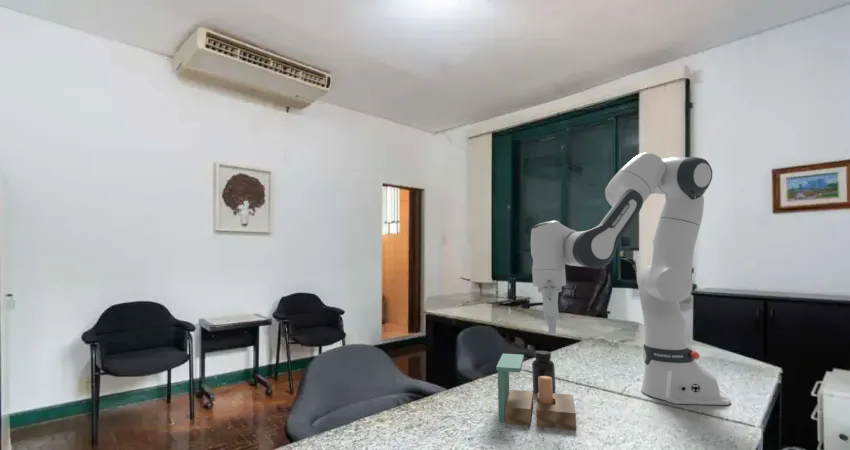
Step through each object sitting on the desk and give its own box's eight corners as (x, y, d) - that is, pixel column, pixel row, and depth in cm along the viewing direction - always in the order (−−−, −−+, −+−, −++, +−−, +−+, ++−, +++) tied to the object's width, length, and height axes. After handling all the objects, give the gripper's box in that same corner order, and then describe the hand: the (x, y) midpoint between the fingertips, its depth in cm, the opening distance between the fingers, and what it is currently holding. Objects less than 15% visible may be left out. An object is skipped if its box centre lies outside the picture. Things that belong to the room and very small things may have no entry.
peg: (553, 414, 114) (552, 376, 114) (553, 419, 110) (552, 380, 111) (539, 413, 115) (538, 375, 115) (539, 418, 111) (537, 379, 112)
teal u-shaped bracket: (525, 404, 121) (523, 354, 122) (521, 425, 107) (520, 368, 108) (503, 402, 123) (502, 353, 124) (497, 422, 108) (496, 366, 109)
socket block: (573, 409, 117) (572, 394, 117) (576, 430, 104) (575, 413, 104) (510, 404, 122) (510, 389, 122) (505, 422, 108) (505, 406, 109)
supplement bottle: (556, 389, 135) (554, 350, 135) (555, 395, 128) (553, 355, 129) (533, 387, 137) (532, 349, 138) (531, 393, 131) (530, 353, 131)
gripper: (562, 282, 107) (565, 337, 106) (560, 276, 126) (563, 324, 125) (536, 282, 109) (539, 337, 108) (538, 277, 128) (541, 323, 127)
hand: (552, 330), depth 117 cm, fingers open, 8 cm apart
